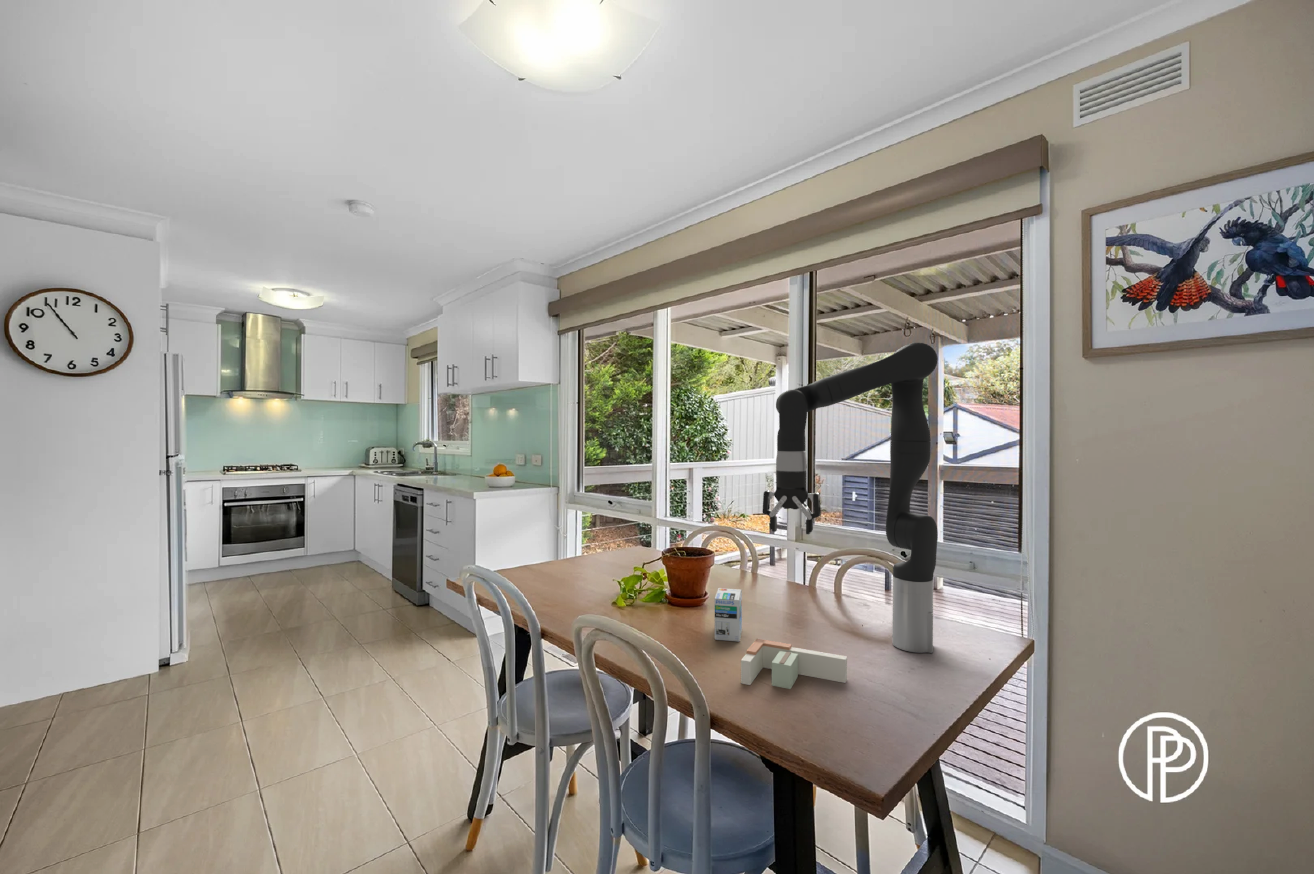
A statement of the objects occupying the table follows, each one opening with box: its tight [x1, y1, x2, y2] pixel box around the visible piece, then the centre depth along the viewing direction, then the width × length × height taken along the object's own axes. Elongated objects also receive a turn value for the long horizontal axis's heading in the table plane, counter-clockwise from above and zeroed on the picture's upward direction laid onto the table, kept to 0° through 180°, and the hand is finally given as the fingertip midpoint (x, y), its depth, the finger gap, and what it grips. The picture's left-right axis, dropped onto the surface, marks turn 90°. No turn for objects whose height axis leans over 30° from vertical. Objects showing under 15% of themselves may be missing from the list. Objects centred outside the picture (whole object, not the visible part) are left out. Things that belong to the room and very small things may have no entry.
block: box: [771, 651, 799, 690], centre depth 123 cm, size 7×4×5 cm, turn 154°
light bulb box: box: [713, 587, 743, 642], centre depth 151 cm, size 11×7×11 cm, turn 168°
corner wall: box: [740, 638, 848, 686], centre depth 122 cm, size 20×12×6 cm, turn 64°
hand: (791, 532), depth 145 cm, fingers open, 8 cm apart
